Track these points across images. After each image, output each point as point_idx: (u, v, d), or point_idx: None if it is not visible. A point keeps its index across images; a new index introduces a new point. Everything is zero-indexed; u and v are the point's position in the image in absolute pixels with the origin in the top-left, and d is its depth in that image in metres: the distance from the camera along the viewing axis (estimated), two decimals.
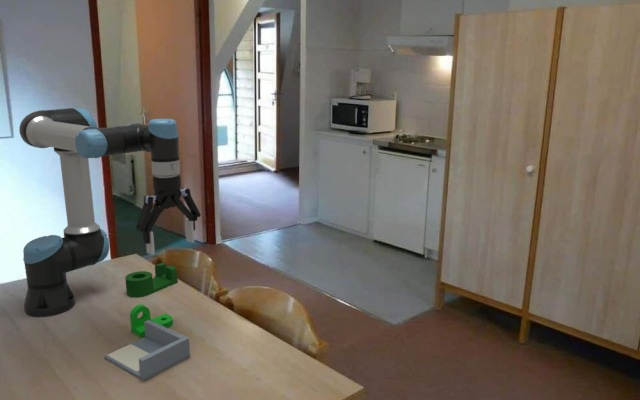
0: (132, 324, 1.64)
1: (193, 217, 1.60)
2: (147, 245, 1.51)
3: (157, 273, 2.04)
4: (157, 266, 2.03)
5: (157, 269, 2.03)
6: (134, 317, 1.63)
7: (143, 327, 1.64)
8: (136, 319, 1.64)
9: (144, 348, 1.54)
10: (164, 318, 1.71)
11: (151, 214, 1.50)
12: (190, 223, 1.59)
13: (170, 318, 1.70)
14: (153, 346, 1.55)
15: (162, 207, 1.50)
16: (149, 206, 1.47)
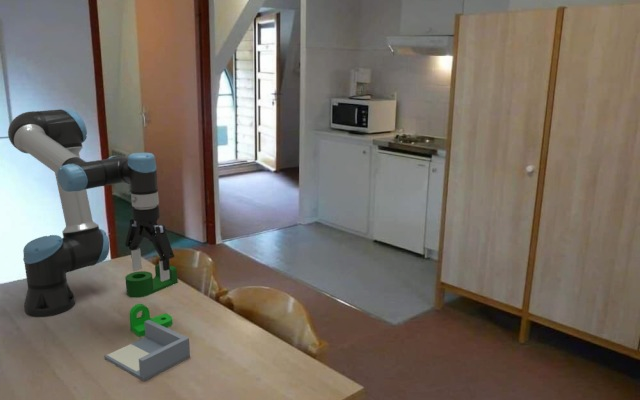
0: (131, 323, 1.65)
1: (161, 257, 1.56)
2: None
3: (157, 273, 2.04)
4: (157, 266, 2.03)
5: (157, 269, 2.03)
6: (133, 316, 1.64)
7: (142, 326, 1.65)
8: (135, 318, 1.64)
9: (144, 348, 1.54)
10: (164, 318, 1.71)
11: None
12: None
13: (170, 318, 1.70)
14: (153, 346, 1.55)
15: (136, 233, 1.61)
16: (130, 227, 1.63)
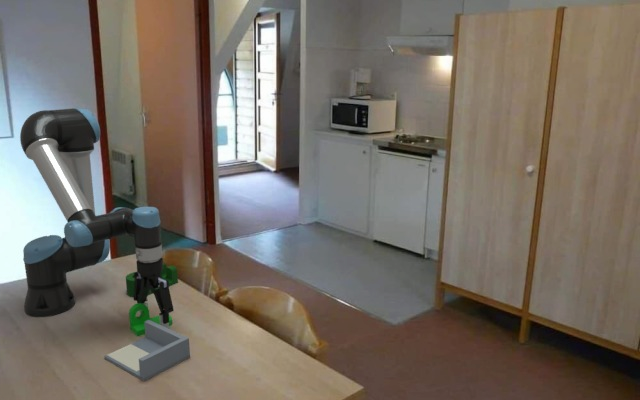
0: (130, 322, 1.65)
1: (161, 311, 1.61)
2: None
3: None
4: None
5: None
6: (132, 315, 1.64)
7: (141, 326, 1.65)
8: (134, 317, 1.65)
9: (144, 348, 1.54)
10: None
11: None
12: None
13: (169, 318, 1.70)
14: (153, 346, 1.55)
15: (141, 285, 1.64)
16: (135, 280, 1.67)
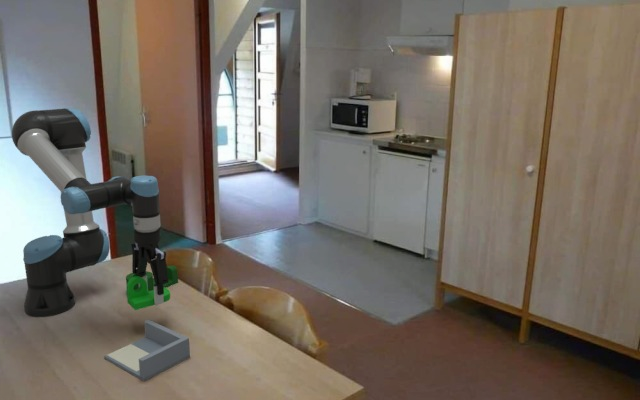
0: (128, 295, 1.63)
1: (156, 282, 1.60)
2: None
3: None
4: None
5: None
6: (129, 288, 1.61)
7: (138, 299, 1.62)
8: (132, 290, 1.62)
9: (144, 348, 1.54)
10: None
11: None
12: None
13: (167, 292, 1.67)
14: (153, 346, 1.55)
15: (139, 256, 1.62)
16: (133, 252, 1.65)
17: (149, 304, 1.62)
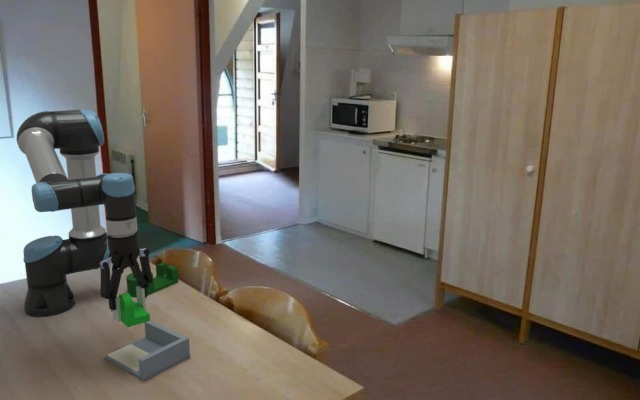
0: (130, 316, 1.40)
1: (145, 284, 1.47)
2: (113, 311, 1.43)
3: (158, 273, 2.04)
4: (158, 265, 2.03)
5: (158, 269, 2.03)
6: None
7: (137, 313, 1.43)
8: None
9: (144, 348, 1.54)
10: None
11: (112, 278, 1.41)
12: (141, 291, 1.47)
13: None
14: (153, 346, 1.55)
15: (121, 269, 1.40)
16: (106, 272, 1.37)
17: None
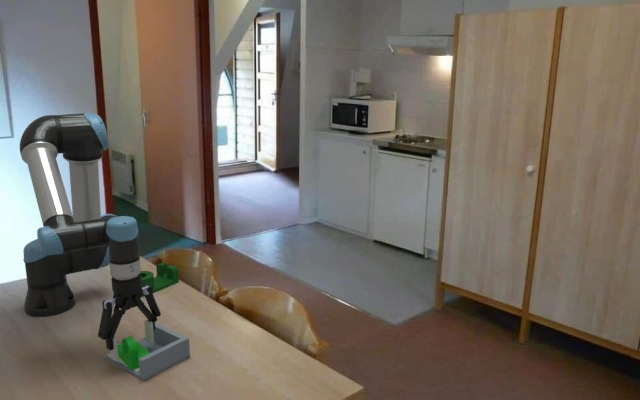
0: (134, 359, 1.43)
1: (153, 318, 1.51)
2: (111, 351, 1.44)
3: (158, 273, 2.04)
4: (158, 265, 2.03)
5: (158, 269, 2.03)
6: None
7: (141, 355, 1.46)
8: None
9: None
10: None
11: (112, 318, 1.43)
12: (149, 324, 1.51)
13: None
14: (153, 346, 1.55)
15: (123, 310, 1.42)
16: (108, 312, 1.40)
17: None
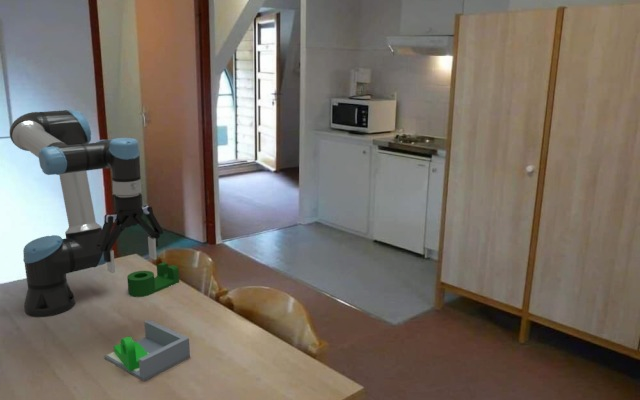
0: (132, 360, 1.43)
1: (155, 234, 1.60)
2: (108, 263, 1.52)
3: (159, 273, 2.04)
4: (159, 265, 2.03)
5: (159, 269, 2.04)
6: None
7: (139, 356, 1.46)
8: None
9: (144, 348, 1.54)
10: None
11: (112, 233, 1.51)
12: (152, 240, 1.60)
13: None
14: (153, 346, 1.55)
15: (123, 226, 1.51)
16: (109, 225, 1.48)
17: None
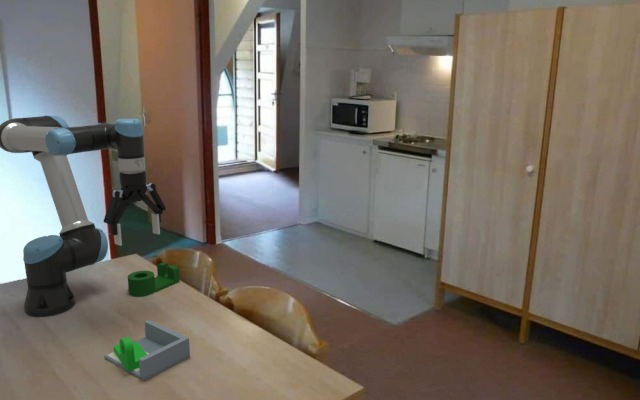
0: (131, 360, 1.42)
1: (159, 210, 1.70)
2: (115, 237, 1.62)
3: (159, 273, 2.04)
4: (159, 265, 2.03)
5: (159, 268, 2.04)
6: None
7: (138, 356, 1.46)
8: None
9: (144, 348, 1.54)
10: None
11: (118, 207, 1.61)
12: (156, 216, 1.70)
13: None
14: (153, 346, 1.55)
15: (128, 201, 1.61)
16: (116, 200, 1.58)
17: None
